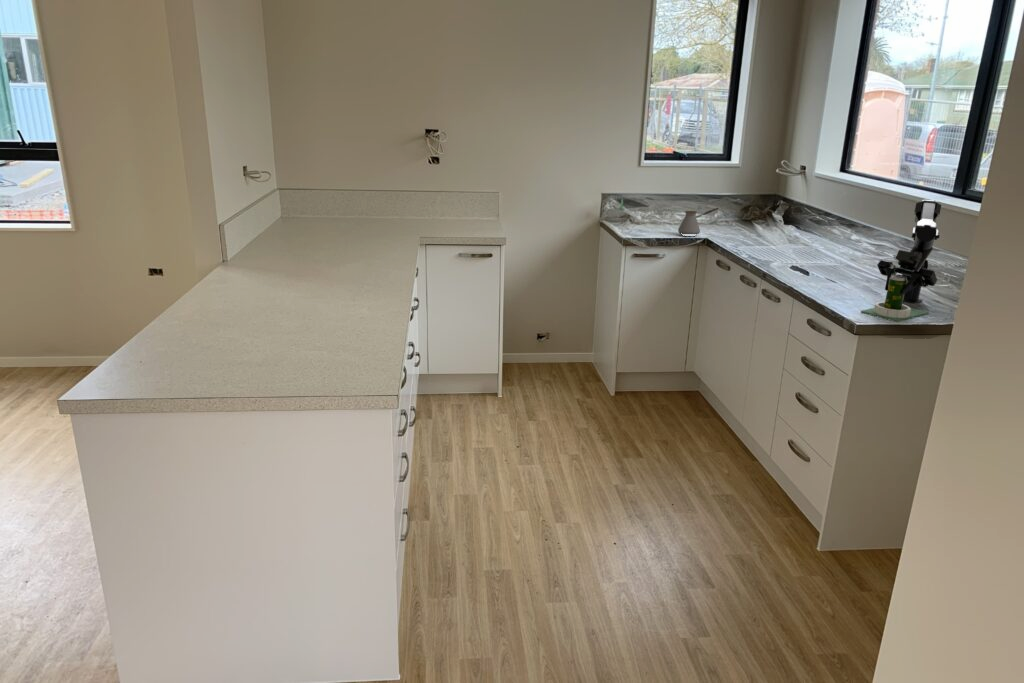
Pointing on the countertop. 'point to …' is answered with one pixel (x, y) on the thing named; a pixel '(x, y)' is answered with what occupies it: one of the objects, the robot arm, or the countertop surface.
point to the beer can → (895, 292)
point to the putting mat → (912, 314)
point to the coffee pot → (691, 222)
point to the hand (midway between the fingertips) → (893, 291)
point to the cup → (892, 311)
